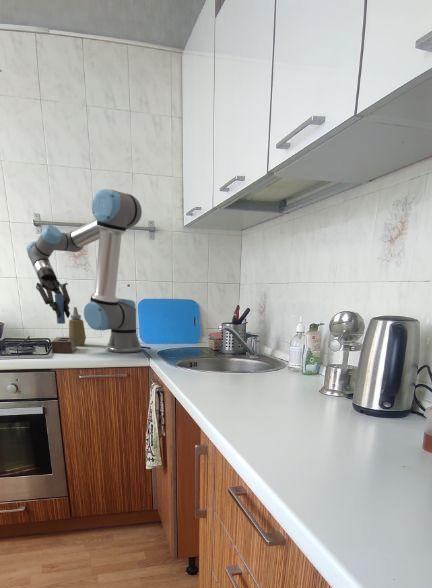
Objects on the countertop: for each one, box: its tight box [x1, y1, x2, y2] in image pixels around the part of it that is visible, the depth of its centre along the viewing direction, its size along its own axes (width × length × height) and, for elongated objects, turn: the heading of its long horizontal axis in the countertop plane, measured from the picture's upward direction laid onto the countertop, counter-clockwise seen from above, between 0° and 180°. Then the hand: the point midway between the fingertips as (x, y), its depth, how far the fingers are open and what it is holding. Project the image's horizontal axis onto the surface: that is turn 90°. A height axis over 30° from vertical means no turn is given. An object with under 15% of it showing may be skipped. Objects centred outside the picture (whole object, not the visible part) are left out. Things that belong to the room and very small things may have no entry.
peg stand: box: [50, 336, 77, 354], centre depth 214 cm, size 9×15×5 cm, turn 9°
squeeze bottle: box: [68, 306, 87, 347], centre depth 227 cm, size 8×8×18 cm
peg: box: [54, 293, 66, 325], centre depth 205 cm, size 3×3×12 cm
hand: (64, 315), depth 203 cm, fingers closed on peg, 3 cm apart
